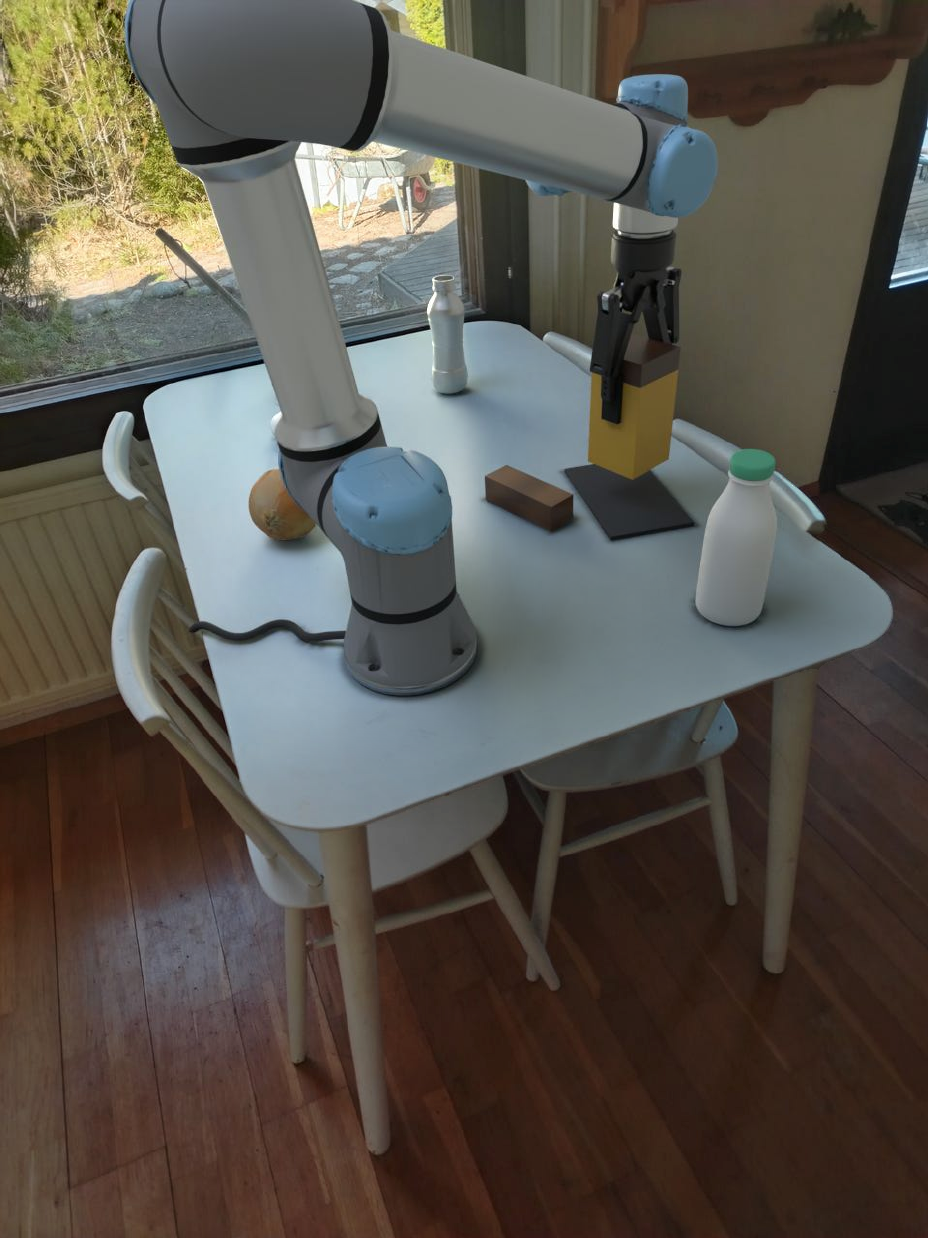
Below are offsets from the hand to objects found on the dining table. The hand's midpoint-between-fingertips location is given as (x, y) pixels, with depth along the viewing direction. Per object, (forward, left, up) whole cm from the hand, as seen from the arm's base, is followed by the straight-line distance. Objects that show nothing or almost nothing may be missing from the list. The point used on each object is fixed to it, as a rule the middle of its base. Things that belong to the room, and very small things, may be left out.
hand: (632, 409), depth 115 cm
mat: (0, 0, -14) cm, 14 cm away
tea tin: (-2, +3, 0) cm, 4 cm away
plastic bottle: (-16, +46, -14) cm, 51 cm away
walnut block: (-14, +1, -14) cm, 20 cm away
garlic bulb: (-50, +25, -12) cm, 57 cm away
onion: (-48, +5, -14) cm, 50 cm away
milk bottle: (+2, -28, -14) cm, 31 cm away
